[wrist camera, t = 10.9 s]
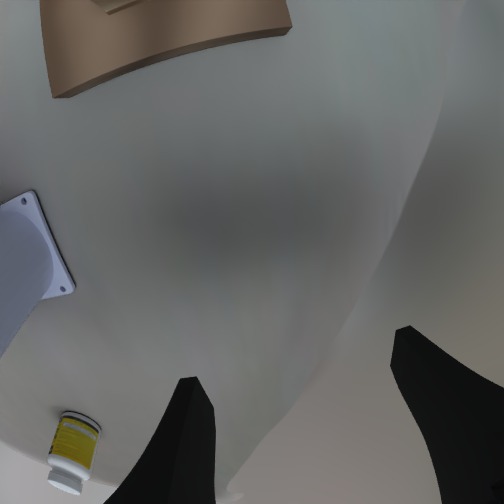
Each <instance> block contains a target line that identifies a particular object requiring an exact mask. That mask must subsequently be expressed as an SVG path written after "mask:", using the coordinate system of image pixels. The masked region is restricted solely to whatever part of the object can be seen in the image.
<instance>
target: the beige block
mask: <svg viewBox="0 0 504 504" xmlns="http://www.w3.org/2000/svg"><path fill="white" fill-rule="evenodd" d="M90 1H92V2H93V3H95V4H96V5H98V6H99V7H100V8H102V9H103V10H105V13H107V14H108V15H111V14H114V13H116V12H119V11H121V10H124V9H126V8H129V7H132V6H134V5H137V4H140V3H143V2H146V1H149V0H90Z"/></svg>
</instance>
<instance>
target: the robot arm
mask: <svg viewBox="0 0 504 504" xmlns="http://www.w3.org/2000/svg"><path fill="white" fill-rule="evenodd" d="M24 198H25V199H26V201H27V203H26V202H25V201H24ZM62 286H63V287H64V288H65V289H64V288H63V287H62ZM74 289H75V285H74V283H73V281H72V279H71V277H70V275H69V273H68V271H67V269H66V266H65V264H64V262H63V260H62V258H61V256H60V254H59V251H58V249H57V247H56V245H55V242H54V240H53V238H52V235H51V233H50V231H49V228H48V226H47V223H46V221H45V218H44V216H43V213H42V210H41V208H40V205H39V202H38V199H37V197H36V194H35V193H34V192H33V191H31V190H30V191H27V192H25V193H23V194H21V195H19V196H17V197H15V198H14V199H12V200H10V201H8V202H6V203H4V204H2V205H0V358H1V357H2V355H3V353H4V352H5V350H6V349H7V347H8V346H9V344H10V342H11V341H12V339H13V338H14V336H15V335H16V333H17V332H18V330H19V329H20V327H21V326H22V324H23V323H24V322H25V320H26V319H27V317H28V316H29V314H30V313H31V312H32V310H33V309H34V308H35V306H36V305H37V303H38V302H39V301H40V300H43V299H47V298H52V297H57V296H61V295H66V294H70V293H73V291H74ZM390 367H391V369H392V372H393V375H394V378H395V380H396V383H397V385H398V388H399V390H400V392H401V394H402V396H403V398H404V400H405V401H406V403H407V405H408V407H409V409H410V411H411V412H412V415H413V417H414V419H415V420H416V422H417V424H418V426H419V428H420V430H421V432H422V435H423V437H424V439H425V442H426V445H427V447H428V450H429V453H430V456H431V459H432V463H433V466H434V469H435V473H436V477H437V481H438V485H439V490H440V495H441V500H442V504H504V388H503V387H501V386H499V385H497V384H495V383H493V382H491V381H489V380H487V379H486V378H484V377H482V376H480V375H479V374H477V373H475V372H474V371H472V370H470V369H469V368H468V367H466V366H464V365H463V364H462V363H460V362H458V361H457V360H456V359H454V358H453V357H452V356H450V355H449V354H447V353H446V352H445V351H443V350H442V349H441V348H439V347H438V346H437V345H435V344H434V343H433V342H431V341H430V340H429V339H428V338H426V337H425V336H424V335H422V334H421V333H420V332H418V331H417V330H416V329H414V328H413V327H412V326H407V327H404V328H401V329H398V330H396V332H395V339H394V346H393V352H392V358H391V364H390ZM215 444H216V428H215V416H214V407H213V405H212V403H211V402H210V400H209V398H208V396H207V395H206V393H205V391H204V389H203V387H202V385H201V384H200V382H199V380H198V378H197V376H196V377H189V378H181V379H180V380H179V382H178V384H177V386H176V389H175V391H174V393H173V395H172V398H171V400H170V402H169V404H168V406H167V409H166V411H165V413H164V415H163V417H162V419H161V421H160V423H159V425H158V427H157V429H156V431H155V433H154V435H153V436H152V438H151V440H150V442H149V444H148V445H147V447H146V449H145V451H144V452H143V454H142V455H141V457H140V459H139V460H138V462H137V463H136V465H135V466H134V467H133V469H132V470H131V472H130V473H129V474H128V476H127V477H126V478H125V480H124V481H123V482H122V483H121V485H120V486H119V487H118V488H117V490H116V491H115V492H114V493H113V494H112V495H111V496H110V497H109V498H108V499H107V500H106V501H105V502H104V503H103V504H216V501H215V490H214V474H215Z"/></svg>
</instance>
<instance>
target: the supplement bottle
mask: <svg viewBox="0 0 504 504" xmlns="http://www.w3.org/2000/svg"><path fill="white" fill-rule="evenodd" d="M100 435H101V430H100V428H99V426H98V425H97V424H96V423H95V422H93V421H92V420H91V419H89V418H87V417H85V416H83V415H80V414H77V413H73V412H65V413H63V414H62V416H61V418H60V421H59V424H58V427H57V430H56V433H55V436H54V439H53V442H52V445H51V448H50V451H49V455H48V463H49V465H50V466H51V467H52V468H53V470H52V471H50V473H49V477H48V482H49V483H50V484H52V485H53V486H55V487H57V488H59V489H61V490H63V491H65V492H68V493H71V494H76V495H80V494H81V491H82V483H81V481H86V480H88V479H90V477H91V473H92V469H93V464H94V460H95V455H96V451H97V447H98V443H99V439H100Z"/></svg>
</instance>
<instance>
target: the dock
mask: <svg viewBox="0 0 504 504" xmlns="http://www.w3.org/2000/svg"><path fill="white" fill-rule="evenodd" d="M40 16H41V27H42V36H43V45H44V52H45V59H46V65H47V71H48V77H49V82H50V87H51V92H52V97H53V98H70V97H72V96H74V95H76V94H78V93H80V92H83V91H85V90H87V89H89V88H91V87H94V86H96V85H98V84H100V83H103V82H105V81H108V80H110V79H112V78H115V77H117V76H120V75H123V74H125V73H128V72H130V71H133V70H136V69H139V68H142V67H145V66H147V65H150V64H153V63H157V62H160V61H163V60H166V59H169V58H173V57H176V56H180V55H183V54H187V53H191V52H195V51H199V50H203V49H207V48H211V47H216V46H220V45H225V44H230V43H235V42H241V41H246V40H252V39H259V38H266V37H273V36H282V35H286V34H287V32H288V31H289V30H290V29H291V28H292V23H291V19H290V15H289V11H288V8H287V4H286V0H149V1H146V2H143V3H140V4H137V5H134V6H132V7H129V8H126V9H124V10H121V11H119V12H116V13H114V14H111V15H108V14H107V13H105V10H103V9H102V8H100V7H99V6H98V5H96V4H95V3H93V2H92V1H90V0H40Z"/></svg>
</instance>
